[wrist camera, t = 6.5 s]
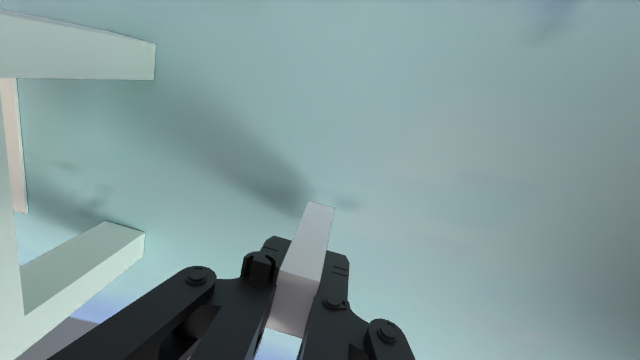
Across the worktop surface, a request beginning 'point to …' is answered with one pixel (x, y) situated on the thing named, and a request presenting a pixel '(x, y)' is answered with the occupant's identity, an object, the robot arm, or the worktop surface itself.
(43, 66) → the bridge
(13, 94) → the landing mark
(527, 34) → the worktop surface
